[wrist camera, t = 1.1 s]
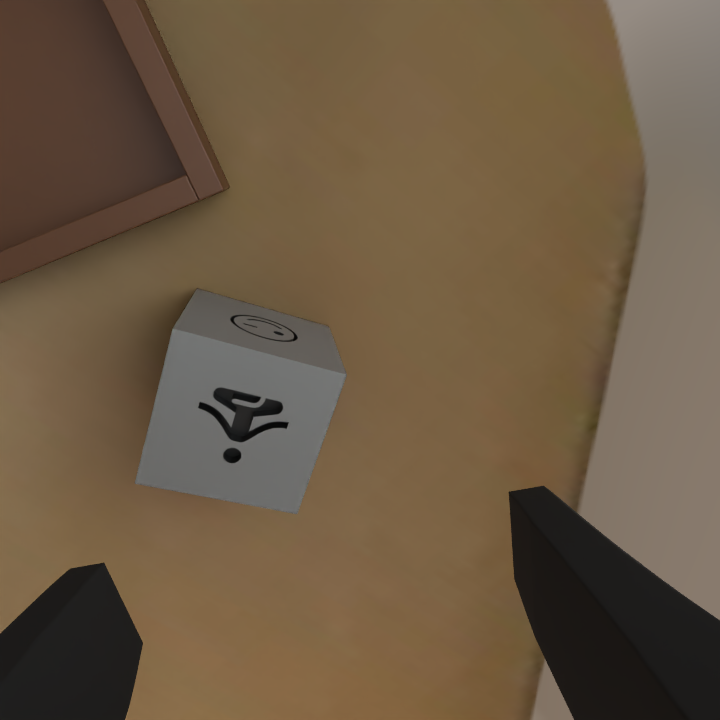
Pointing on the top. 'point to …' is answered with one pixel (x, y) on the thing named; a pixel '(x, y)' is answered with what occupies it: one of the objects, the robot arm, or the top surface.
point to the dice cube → (241, 404)
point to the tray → (90, 129)
